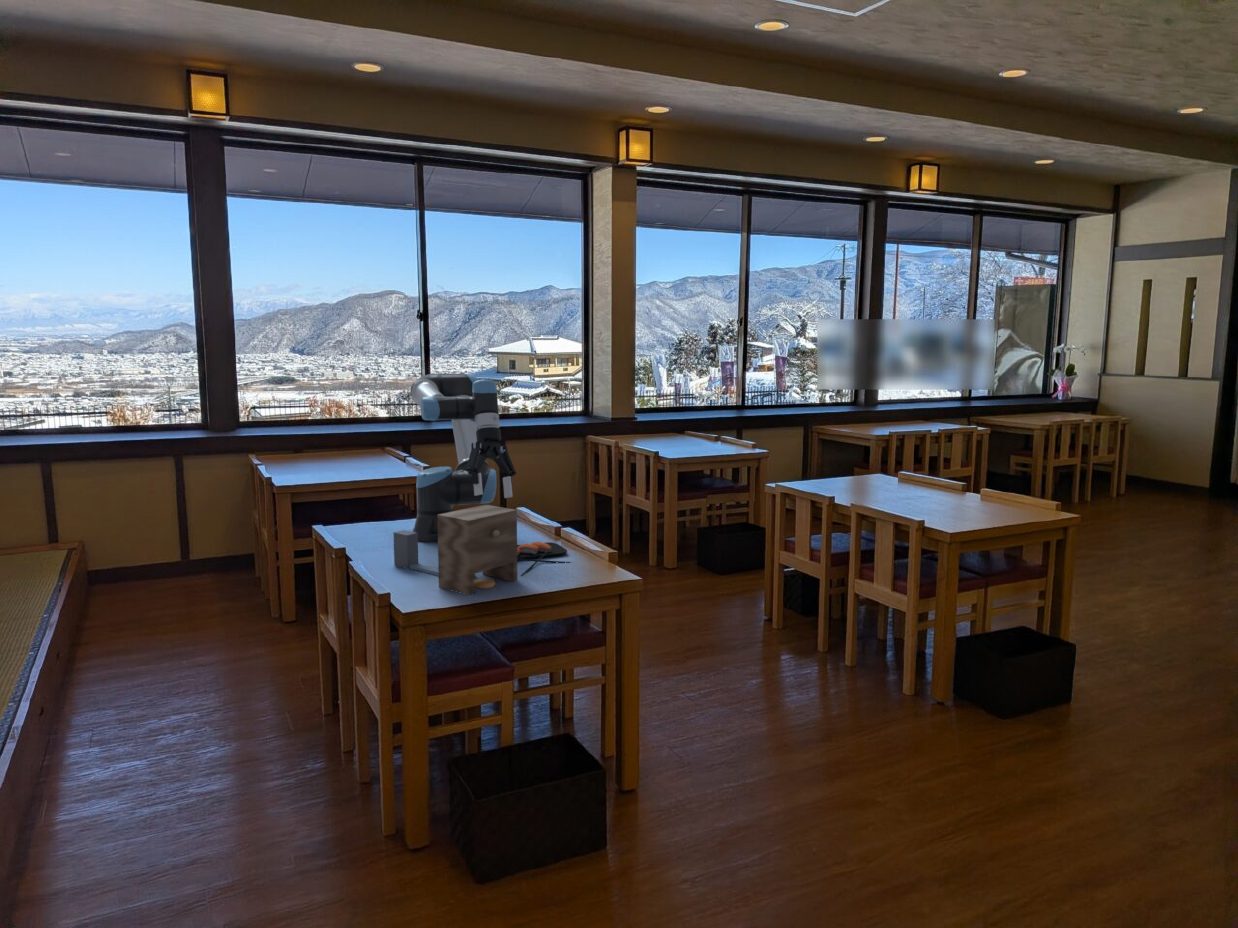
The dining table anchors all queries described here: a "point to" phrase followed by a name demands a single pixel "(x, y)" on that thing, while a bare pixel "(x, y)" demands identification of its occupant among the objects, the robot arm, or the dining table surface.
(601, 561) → the dining table surface
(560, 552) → the sushi plate
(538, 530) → the dining table surface
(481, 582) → the puck
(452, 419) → the robot arm
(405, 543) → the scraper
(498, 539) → the cabinet
